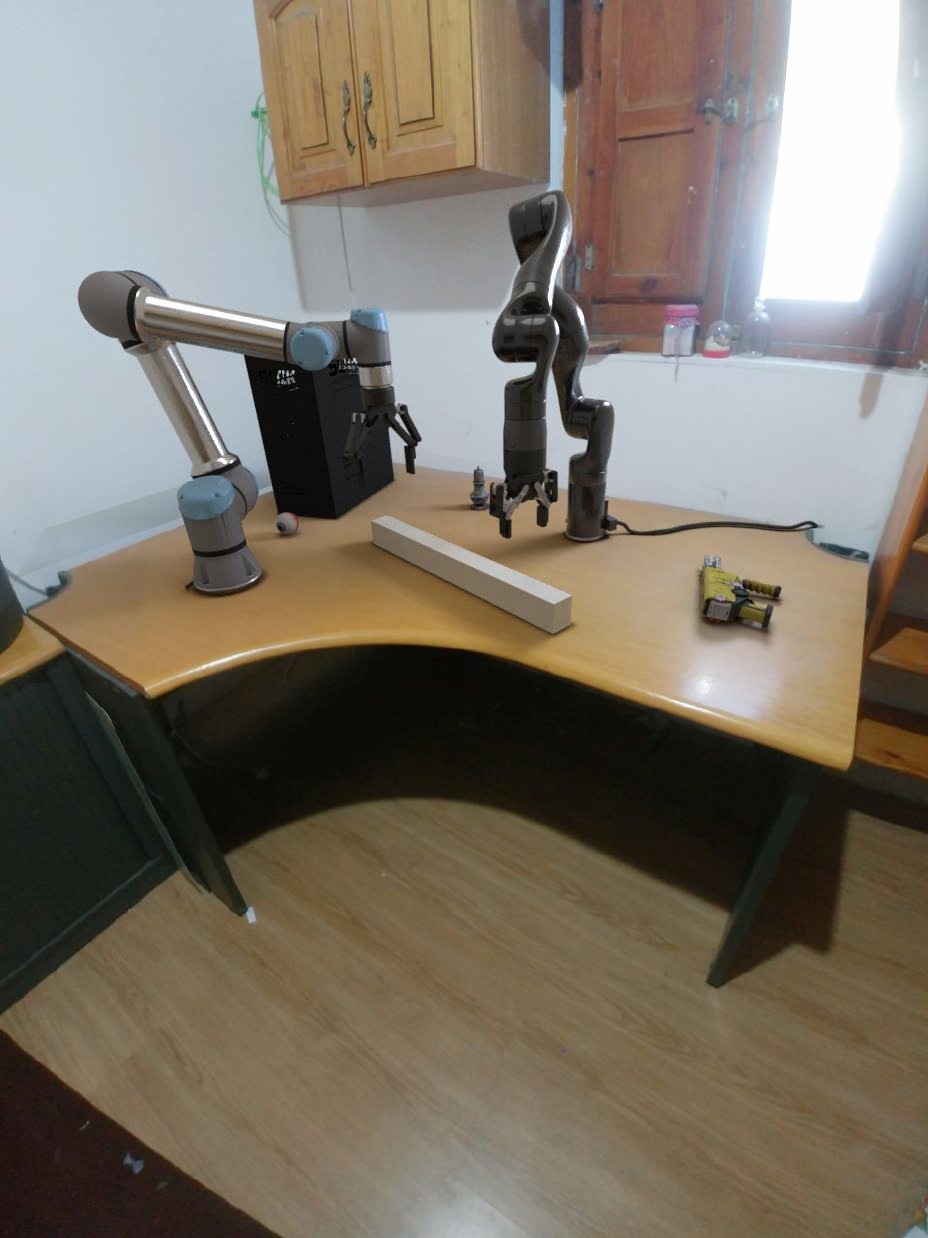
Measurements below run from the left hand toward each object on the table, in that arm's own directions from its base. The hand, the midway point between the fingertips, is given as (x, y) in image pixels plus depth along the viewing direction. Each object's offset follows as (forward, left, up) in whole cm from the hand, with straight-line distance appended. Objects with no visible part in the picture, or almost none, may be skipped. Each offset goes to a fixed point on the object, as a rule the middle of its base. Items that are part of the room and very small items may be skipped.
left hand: (387, 479), depth 144 cm
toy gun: (+55, -60, -18) cm, 83 cm away
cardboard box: (-4, +49, -18) cm, 53 cm away
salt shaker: (+31, +17, -18) cm, 39 cm away
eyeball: (-24, +23, -18) cm, 38 cm away
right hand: (+14, -45, 0) cm, 47 cm away
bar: (+8, -24, -18) cm, 31 cm away
